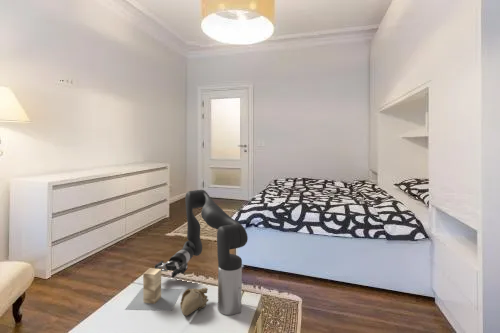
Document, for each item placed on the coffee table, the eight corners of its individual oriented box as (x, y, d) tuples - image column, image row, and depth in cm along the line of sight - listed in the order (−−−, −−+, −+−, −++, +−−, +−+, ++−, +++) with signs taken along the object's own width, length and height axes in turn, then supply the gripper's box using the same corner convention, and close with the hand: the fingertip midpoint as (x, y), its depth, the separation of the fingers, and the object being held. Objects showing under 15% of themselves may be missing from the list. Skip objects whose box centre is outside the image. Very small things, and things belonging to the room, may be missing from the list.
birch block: (161, 297, 110) (161, 269, 109) (154, 303, 105) (154, 274, 105) (150, 295, 111) (150, 268, 110) (143, 302, 106) (143, 273, 105)
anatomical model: (199, 298, 95) (212, 283, 110) (171, 297, 97) (188, 282, 112) (199, 319, 95) (213, 301, 109) (172, 318, 97) (189, 300, 112)
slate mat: (182, 289, 117) (182, 288, 117) (171, 311, 101) (171, 310, 101) (142, 289, 117) (142, 288, 117) (124, 310, 101) (124, 309, 101)
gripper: (166, 251, 134) (149, 264, 118) (193, 253, 131) (178, 267, 115) (166, 265, 134) (149, 280, 118) (193, 268, 132) (178, 284, 116)
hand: (163, 274), depth 117 cm, fingers open, 8 cm apart
